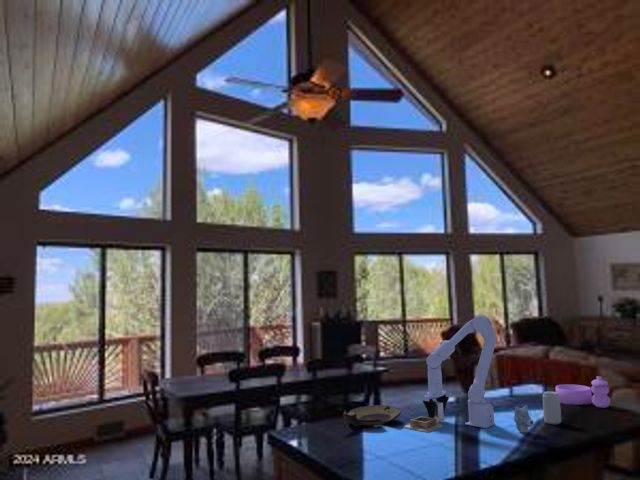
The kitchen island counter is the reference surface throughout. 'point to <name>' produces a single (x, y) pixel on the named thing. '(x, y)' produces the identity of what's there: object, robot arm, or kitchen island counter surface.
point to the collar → (423, 424)
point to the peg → (439, 412)
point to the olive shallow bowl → (372, 415)
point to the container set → (585, 393)
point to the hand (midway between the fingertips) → (436, 415)
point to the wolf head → (522, 419)
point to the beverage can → (551, 407)
